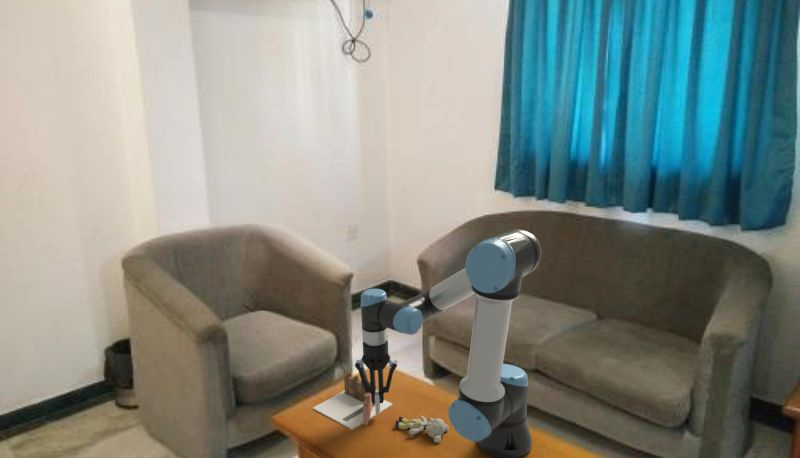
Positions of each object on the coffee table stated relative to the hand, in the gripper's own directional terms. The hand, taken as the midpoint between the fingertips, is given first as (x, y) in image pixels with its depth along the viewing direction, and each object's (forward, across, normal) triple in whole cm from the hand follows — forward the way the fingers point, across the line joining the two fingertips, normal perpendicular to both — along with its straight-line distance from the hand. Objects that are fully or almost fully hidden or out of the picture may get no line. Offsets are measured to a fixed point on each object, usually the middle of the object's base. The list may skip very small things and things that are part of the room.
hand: (378, 411), depth 180 cm
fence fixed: (+2, +8, -11) cm, 13 cm away
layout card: (+2, +9, -6) cm, 11 cm away
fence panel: (+2, +3, 0) cm, 4 cm away
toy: (+3, -13, +5) cm, 15 cm away
